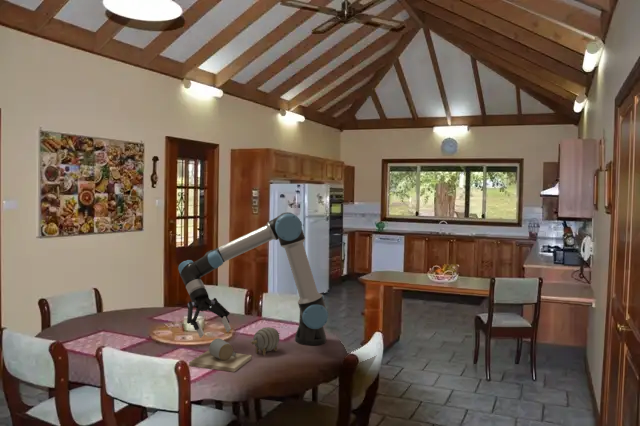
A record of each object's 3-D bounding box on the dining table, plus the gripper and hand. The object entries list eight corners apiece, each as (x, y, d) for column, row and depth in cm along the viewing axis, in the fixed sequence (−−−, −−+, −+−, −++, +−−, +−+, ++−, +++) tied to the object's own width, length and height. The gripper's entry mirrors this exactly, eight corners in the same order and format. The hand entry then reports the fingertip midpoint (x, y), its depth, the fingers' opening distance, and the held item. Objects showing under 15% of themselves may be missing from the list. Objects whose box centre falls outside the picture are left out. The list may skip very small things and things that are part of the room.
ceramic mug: (219, 362, 220) (220, 344, 220) (208, 357, 226) (209, 339, 226) (240, 358, 228) (241, 340, 228) (229, 353, 234) (229, 335, 233)
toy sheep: (286, 350, 246) (287, 326, 246) (262, 359, 232) (263, 333, 231) (267, 345, 252) (268, 322, 251) (243, 354, 238) (244, 329, 237)
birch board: (251, 358, 232) (251, 355, 232) (234, 372, 215) (234, 368, 215) (209, 353, 237) (209, 349, 237) (189, 365, 220) (189, 361, 220)
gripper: (217, 293, 248) (235, 333, 239) (168, 300, 231) (186, 343, 221) (224, 284, 244) (243, 323, 235) (175, 290, 227) (193, 333, 217)
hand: (215, 333), depth 228 cm, fingers open, 13 cm apart
